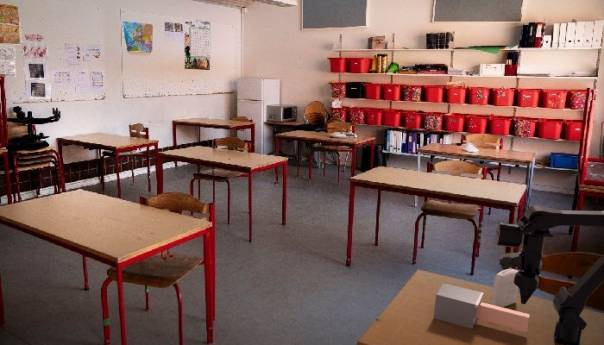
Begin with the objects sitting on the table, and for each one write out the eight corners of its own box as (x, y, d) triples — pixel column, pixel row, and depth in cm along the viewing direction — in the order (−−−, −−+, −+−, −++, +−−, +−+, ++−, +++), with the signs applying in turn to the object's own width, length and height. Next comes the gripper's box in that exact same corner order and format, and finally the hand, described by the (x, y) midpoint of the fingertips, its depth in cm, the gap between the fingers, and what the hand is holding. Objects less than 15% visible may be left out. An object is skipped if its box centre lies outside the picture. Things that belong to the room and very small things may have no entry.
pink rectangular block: (527, 328, 153) (529, 314, 152) (526, 331, 150) (528, 317, 149) (473, 314, 160) (475, 300, 159) (471, 317, 158) (473, 303, 157)
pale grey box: (480, 316, 163) (483, 292, 161) (474, 329, 154) (478, 305, 152) (441, 305, 169) (443, 283, 167) (433, 318, 160) (436, 294, 158)
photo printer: (507, 297, 177) (511, 264, 174) (518, 302, 173) (523, 269, 171) (488, 304, 171) (493, 270, 169) (499, 309, 168) (504, 275, 165)
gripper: (507, 234, 159) (500, 280, 162) (498, 252, 143) (491, 302, 146) (545, 241, 153) (538, 288, 157) (541, 261, 137) (533, 313, 141)
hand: (524, 297), depth 150 cm, fingers open, 9 cm apart
